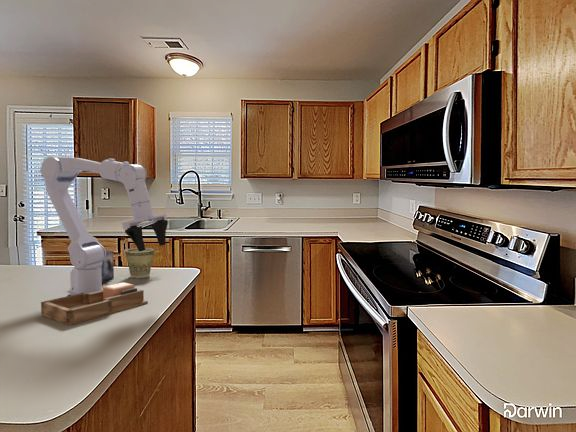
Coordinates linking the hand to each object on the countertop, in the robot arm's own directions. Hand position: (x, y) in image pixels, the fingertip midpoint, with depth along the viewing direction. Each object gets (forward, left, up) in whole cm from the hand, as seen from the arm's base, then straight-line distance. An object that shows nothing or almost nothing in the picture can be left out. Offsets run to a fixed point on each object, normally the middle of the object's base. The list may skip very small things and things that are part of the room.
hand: (152, 248), depth 132 cm
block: (-6, -7, -16) cm, 19 cm away
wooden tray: (-6, -15, -16) cm, 23 cm away
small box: (-35, +4, -16) cm, 39 cm away
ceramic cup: (-29, +19, -16) cm, 39 cm away
